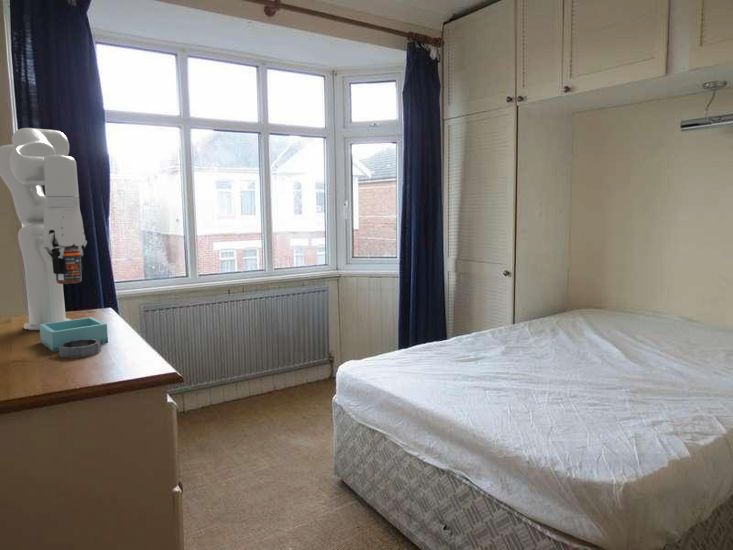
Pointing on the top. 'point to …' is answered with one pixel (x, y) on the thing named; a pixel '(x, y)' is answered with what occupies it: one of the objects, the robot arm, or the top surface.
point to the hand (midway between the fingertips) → (68, 271)
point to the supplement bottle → (71, 266)
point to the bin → (72, 332)
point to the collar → (79, 348)
